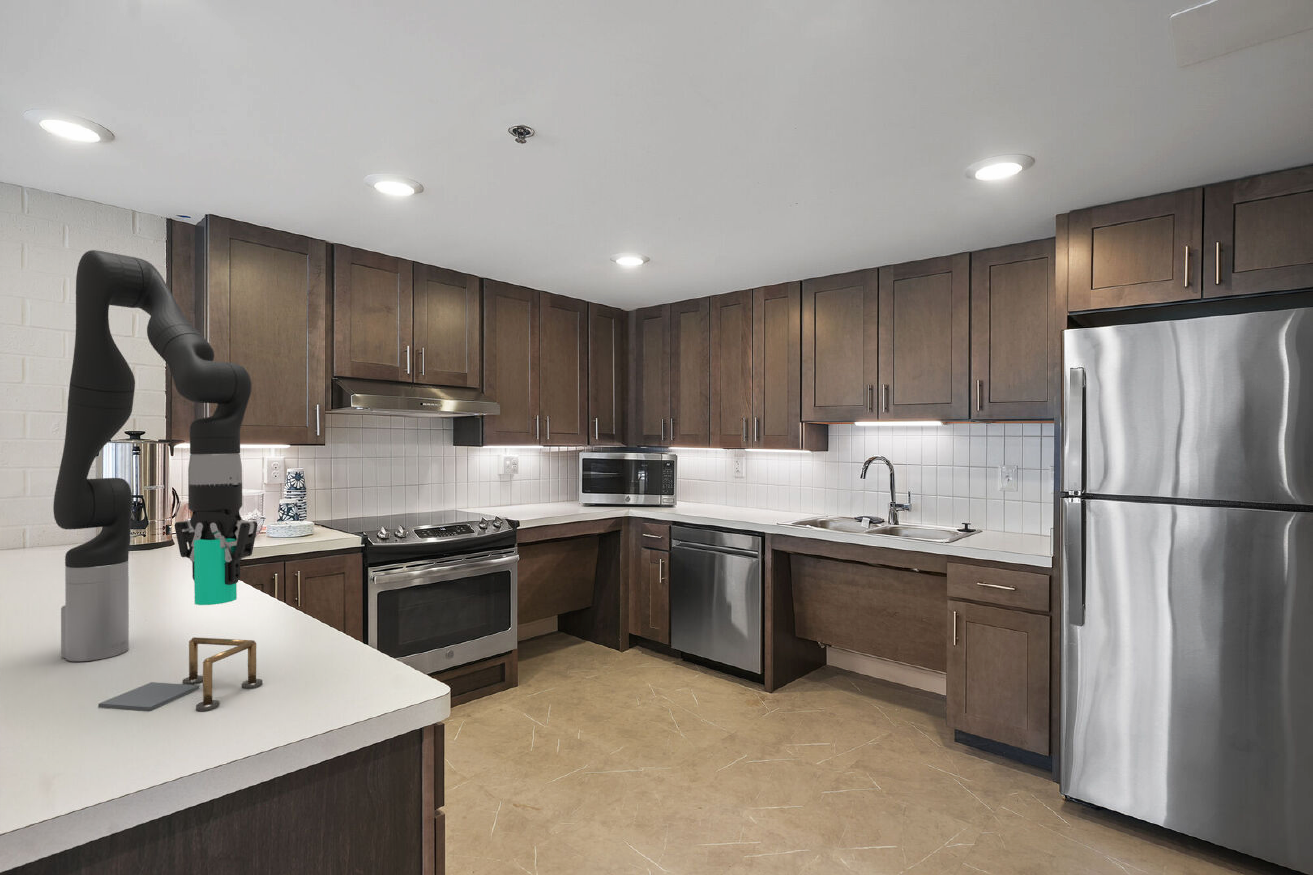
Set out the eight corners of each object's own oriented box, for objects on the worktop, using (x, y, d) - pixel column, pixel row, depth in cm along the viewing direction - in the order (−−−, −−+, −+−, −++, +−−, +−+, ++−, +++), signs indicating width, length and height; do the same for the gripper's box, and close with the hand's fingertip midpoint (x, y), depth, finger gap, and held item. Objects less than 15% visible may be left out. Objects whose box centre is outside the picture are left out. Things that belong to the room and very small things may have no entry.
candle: (215, 605, 108) (215, 531, 108) (184, 604, 109) (184, 530, 109) (245, 597, 114) (245, 526, 114) (215, 595, 115) (215, 526, 115)
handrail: (127, 706, 103) (127, 657, 103) (193, 678, 114) (192, 634, 114) (208, 712, 100) (208, 661, 100) (266, 682, 112) (266, 638, 112)
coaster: (98, 707, 102) (98, 703, 102) (151, 685, 111) (151, 682, 111) (150, 711, 101) (149, 707, 101) (199, 688, 110) (199, 685, 110)
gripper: (158, 482, 109) (159, 587, 109) (236, 482, 107) (237, 589, 107) (196, 480, 117) (197, 578, 117) (270, 479, 114) (271, 579, 114)
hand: (216, 582), depth 112 cm, fingers closed on candle, 5 cm apart
